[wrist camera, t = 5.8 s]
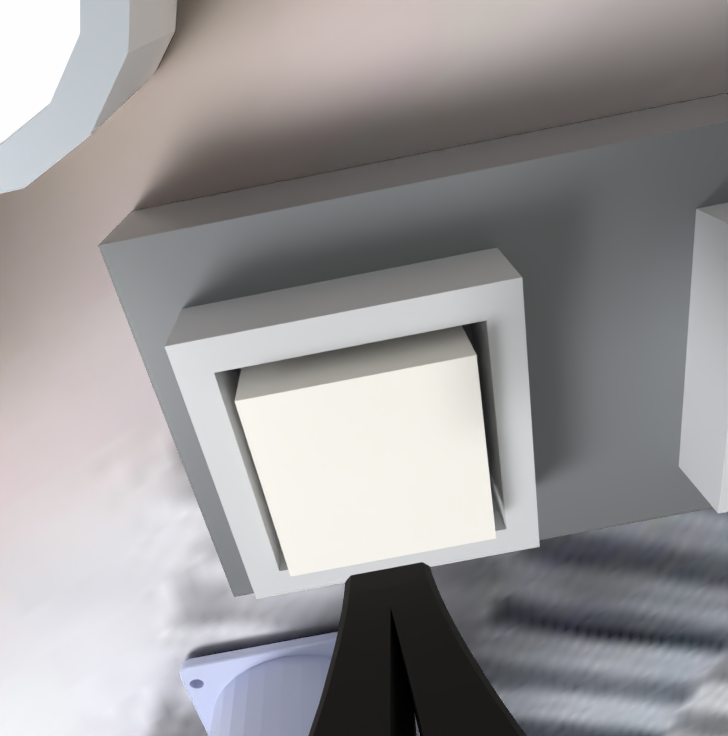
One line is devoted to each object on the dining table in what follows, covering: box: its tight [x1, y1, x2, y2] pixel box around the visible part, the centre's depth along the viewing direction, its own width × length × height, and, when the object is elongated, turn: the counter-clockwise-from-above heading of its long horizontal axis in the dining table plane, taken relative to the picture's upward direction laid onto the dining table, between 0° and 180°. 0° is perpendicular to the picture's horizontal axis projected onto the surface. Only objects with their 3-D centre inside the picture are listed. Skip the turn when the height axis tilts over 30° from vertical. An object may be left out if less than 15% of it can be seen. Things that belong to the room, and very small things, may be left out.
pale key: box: [235, 325, 496, 576], centre depth 15 cm, size 5×5×2 cm
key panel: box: [98, 93, 728, 599], centre depth 17 cm, size 11×22×5 cm, turn 100°
